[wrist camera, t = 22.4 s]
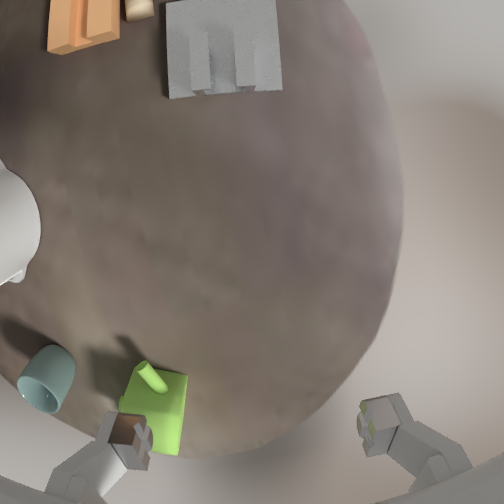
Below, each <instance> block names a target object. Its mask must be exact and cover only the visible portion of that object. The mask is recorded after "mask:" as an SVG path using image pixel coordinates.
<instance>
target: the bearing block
mask: <svg viewBox="0 0 504 504" xmlns="http://www.w3.org/2000/svg"><path fill="white" fill-rule="evenodd" d="M166 32H167V61H168V81H169V98H170V99H171V100H177V99H184V98H193V97H202V96H212V95H223V94H236V93H253V92H281V91H282V76H281V62H280V49H279V37H278V25H277V13H276V2H275V0H183V1H177V2H170V3H166Z"/></svg>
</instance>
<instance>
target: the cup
mask: <svg viewBox="0 0 504 504" xmlns="http://www.w3.org/2000/svg"><path fill="white" fill-rule="evenodd" d="M75 373H76V364H75V361H74V359H73V357H72V356H71V354H70V353H69V352H67V351H66V350H65V349H64V348H62V347H60V346H58V345H53V344H52V345H47V346H45V347H43V348H42V349H41V350H39V351H38V352H37V353H36V354H35V355H34V357H33V358H32V359H31V360H30V362H29V363H28V364H27V366H26V367H25V369H24V370H23V371H22V373H21V374H20V376H19V378H18V380H17V387H18V390H19V392H20V394H21V395H22V396H23V398H24V399H25V400H26V401H27V402H28V403H30V404H31V405H32V406H34V407H35V408H36V409H38V410H40V411H42V412H45V413H49V414H52V413H55V412H57V411H58V410H59V409H60V407H61V405H62V403H63V401H64V399H65V398H66V396H67V394H68V391H69V389H70V387H71V385H72V383H73V380H74V377H75Z"/></svg>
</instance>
